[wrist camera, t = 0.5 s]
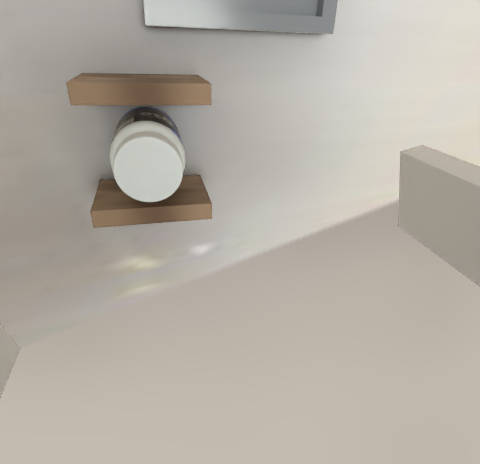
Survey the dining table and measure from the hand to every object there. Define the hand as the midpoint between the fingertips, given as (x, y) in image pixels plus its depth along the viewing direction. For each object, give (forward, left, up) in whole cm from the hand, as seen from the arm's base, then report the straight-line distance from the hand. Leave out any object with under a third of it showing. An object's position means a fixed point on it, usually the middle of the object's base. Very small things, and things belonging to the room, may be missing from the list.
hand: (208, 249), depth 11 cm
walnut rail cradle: (-2, -1, -19) cm, 19 cm away
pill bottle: (-2, -1, -20) cm, 20 cm away
